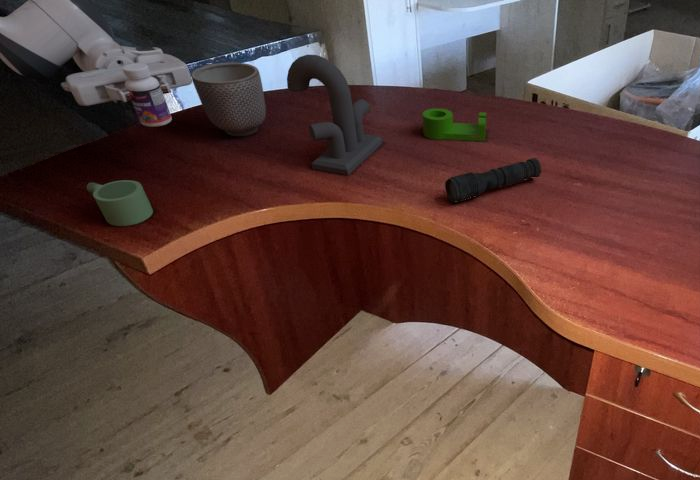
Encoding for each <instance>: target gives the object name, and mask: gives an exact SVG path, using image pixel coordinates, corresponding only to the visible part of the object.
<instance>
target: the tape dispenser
mask: <svg viewBox="0 0 700 480" xmlns="http://www.w3.org/2000/svg"><path fill="white" fill-rule="evenodd" d="M477 122H478V123H464V122H454V114H453V112H452V111H451V110H449V109H446V108H440V107H439V108H437V107H436V108H428V109H426V110H424V111H422V129H423V130H422V132H423V135H424V136H425V137H426V138H428V139H431V140H450V141H451V140H452V141H472V142H473V141H474V142H485V141H486V131H487V112H483V111H482V112H481V111H479V112H478V121H477ZM485 129H486V130H485ZM450 135H451V136H450ZM452 135H453V136H452ZM470 136H481V137H470Z"/></svg>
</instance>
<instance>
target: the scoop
mask: <svg viewBox="0 0 700 480" xmlns="http://www.w3.org/2000/svg"><path fill="white" fill-rule="evenodd" d="M86 191H88V193H90V194H92V196H93V199H94V201H95V202H96V204H97V206H98V208H99V210H100V211H101V213H102V215H103V217H104V219H105V221H106V222H107V223H108V224H109V225H110V226H116V227H128V226H133V225H137V224H140V223H143V222H144V221H146V220H148V219H150V217H152V215H153V213H154V209H153V207H152V205H151V202H150V200H149V198H148V196H147V194H146V191H145V190H144V187H143V185H142V184H141V182H139V181H136V180H132V179H131V180H129V179H122V180H120V179H119V180H115V181H111V182H108V183H105V184H100V183H96V182H93V181H92V182H89V183H88V184H87V185H86Z"/></svg>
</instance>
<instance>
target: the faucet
mask: <svg viewBox="0 0 700 480" xmlns="http://www.w3.org/2000/svg"><path fill="white" fill-rule="evenodd" d="M311 80H317V81H319V82H320V83H322V85H323V86H324V87H325V89H326V90H327V93H328V98H329V104H330V105H329V106H330V109H331V116H332V122H331V121H322V122H317V123H312V124H311V123H310V124H309V125H308V131H309V132H308V133H309V135H310V138H311V140H312V142H321V141H324V140H327V142H328V149H327V150H325V151H324V152H323V153H322V154H320V156H318V157H317V158H316V159H315V160H314V161H312V163H311V169H313V170H317V171H322V172H328V173H333V174H334V173H335V174H338V175H339V174H340V175H345V176H349V175H350V174H351V173H352V172H354V171H355V169H357V168H358V167H359V166H360V165H362V163H363V162H365V160H366V159H367V158H368V157H369V156H371V155H372V154H373V153H374V152H375V151H376V150H377V149H378V148H379V147H380V146H382V145H383V144H384V140H383V138H382V137H380V136H378V135H373V134H368V133H367V134H366V133H365V131H364V125H363V118H364V117H365V116H366V115H368V114H369V113H370V110H371V105H370V104H369V101H367V100H366V99H364V98H358V100H356V101H355V102H352V95H351V88H350V85H349V83H348V81H347V78H346V76H344V73H342V70H340V69H339V68H338V66H337V65H335V64H334V63H333V62H332V61H330V60H329V59H328V58H326V57H323V56H320V55H318V54H305V55H301V56H298V57H297V58H296V59H295V60H294V61H292V62H291V64H290V67H289V68H288V71H287V75H286V85H287V89H288V90H289V91H290V92H296V93H297V92H304V91H307V90H308V89H309V88H310V83H311Z"/></svg>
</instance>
